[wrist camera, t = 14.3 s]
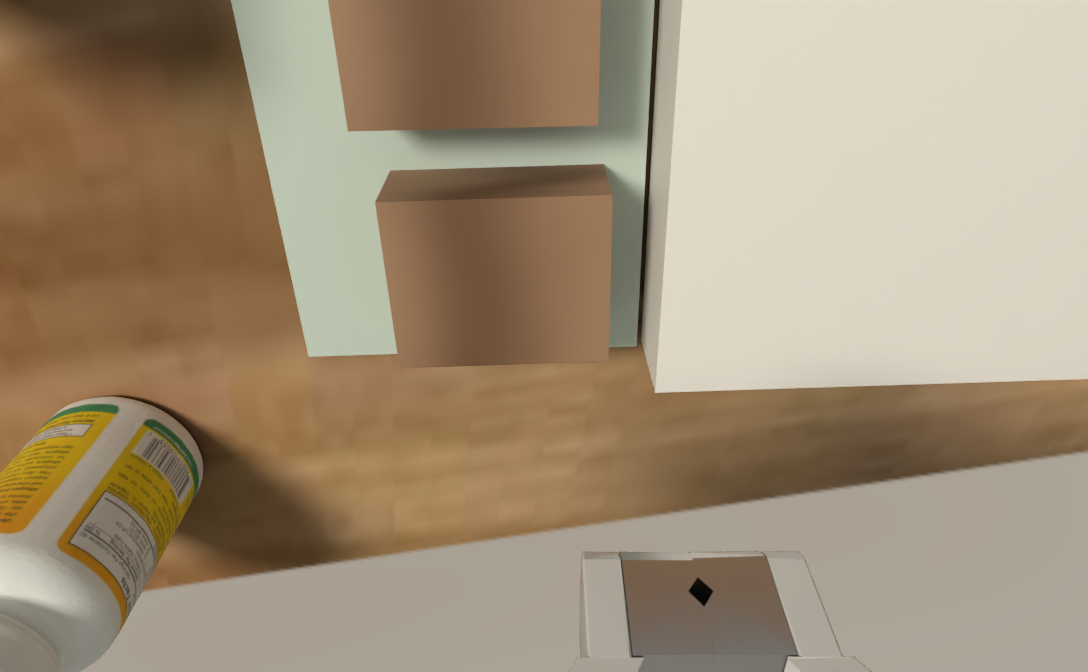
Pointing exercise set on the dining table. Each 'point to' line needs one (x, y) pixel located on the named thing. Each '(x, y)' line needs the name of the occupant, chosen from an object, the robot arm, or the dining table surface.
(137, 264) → the dining table surface
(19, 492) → the supplement bottle
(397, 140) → the mat
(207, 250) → the dining table surface
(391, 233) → the far tile
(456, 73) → the near tile
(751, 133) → the white flat block
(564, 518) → the dining table surface
